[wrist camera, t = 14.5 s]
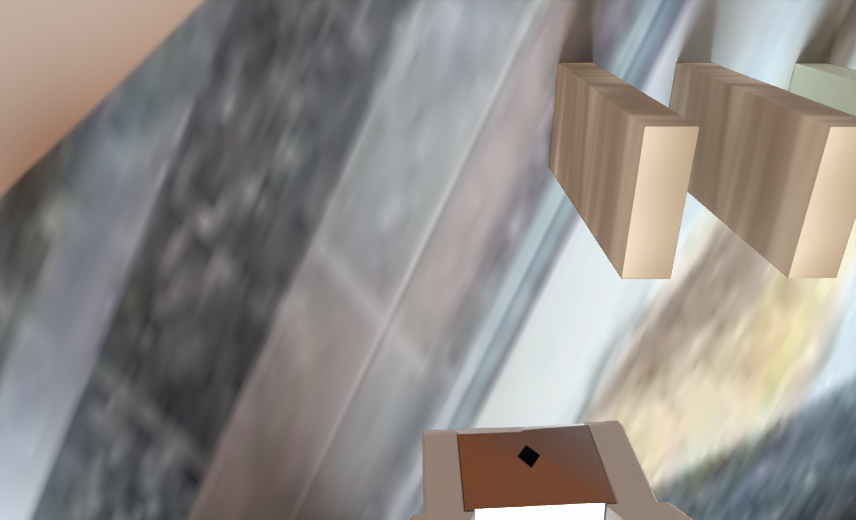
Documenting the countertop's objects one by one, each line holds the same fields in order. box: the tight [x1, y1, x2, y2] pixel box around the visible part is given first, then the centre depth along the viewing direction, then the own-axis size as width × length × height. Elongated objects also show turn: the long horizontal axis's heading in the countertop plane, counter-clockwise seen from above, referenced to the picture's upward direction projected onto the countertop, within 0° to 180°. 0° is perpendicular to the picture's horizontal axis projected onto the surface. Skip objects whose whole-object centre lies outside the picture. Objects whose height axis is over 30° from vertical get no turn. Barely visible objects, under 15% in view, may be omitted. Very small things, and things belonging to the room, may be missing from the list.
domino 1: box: [549, 63, 699, 279], centre depth 25 cm, size 2×5×12 cm, turn 0°
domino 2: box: [669, 63, 856, 278], centre depth 25 cm, size 2×5×12 cm, turn 0°
